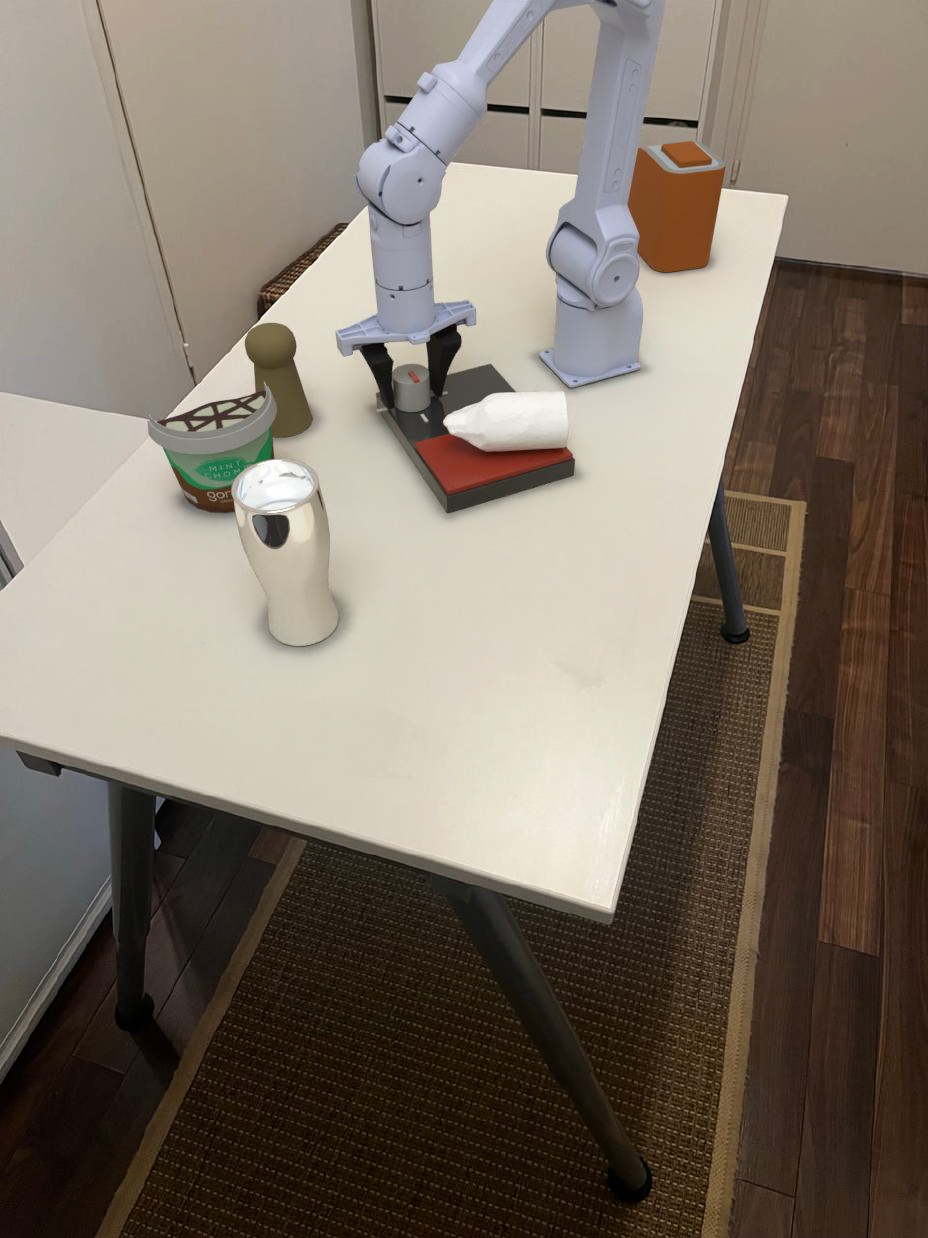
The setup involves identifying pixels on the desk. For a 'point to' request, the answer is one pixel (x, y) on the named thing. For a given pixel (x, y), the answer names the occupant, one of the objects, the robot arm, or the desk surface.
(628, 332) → the robot arm
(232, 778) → the desk surface
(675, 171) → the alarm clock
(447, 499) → the hob
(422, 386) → the hob knob
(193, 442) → the food container
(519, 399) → the white bottle
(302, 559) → the beer glass
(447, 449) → the plate
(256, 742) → the desk surface
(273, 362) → the olive pawn
